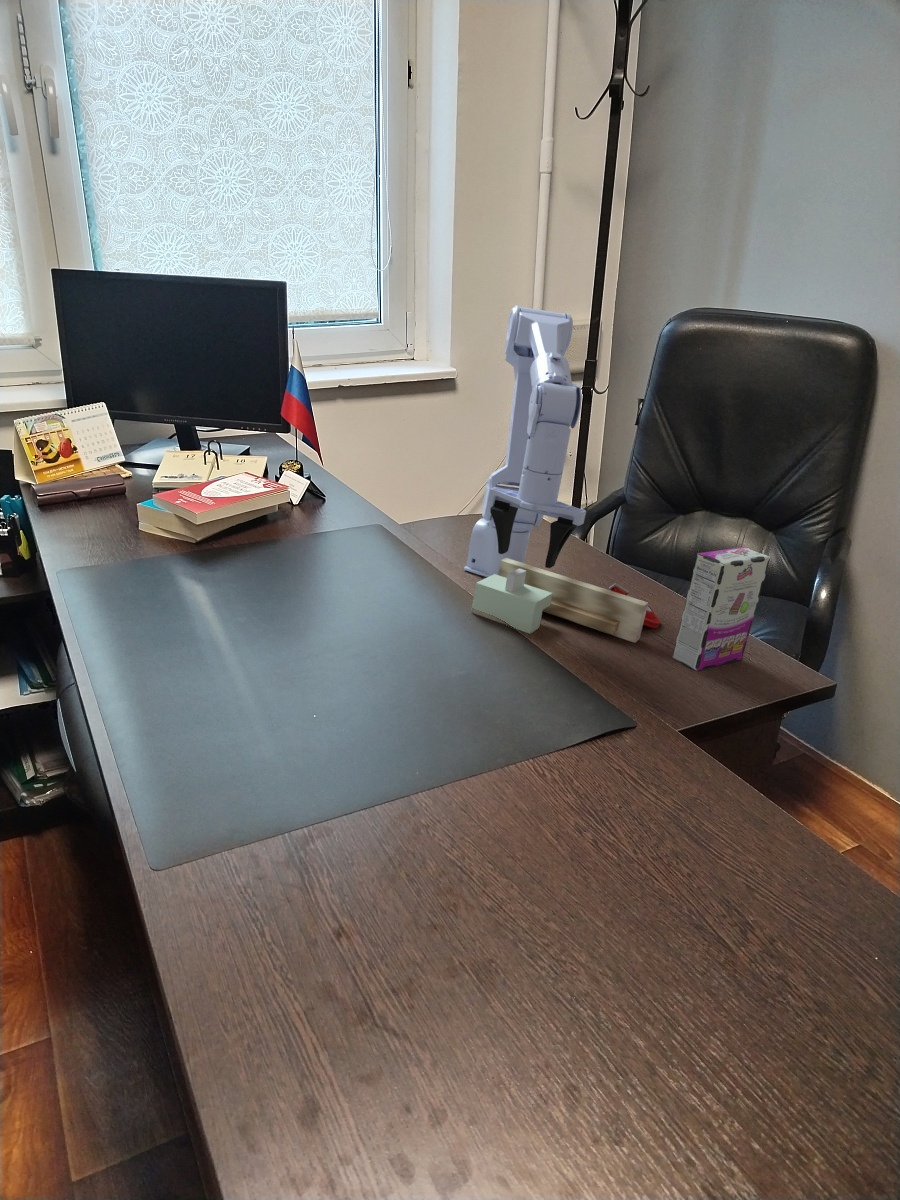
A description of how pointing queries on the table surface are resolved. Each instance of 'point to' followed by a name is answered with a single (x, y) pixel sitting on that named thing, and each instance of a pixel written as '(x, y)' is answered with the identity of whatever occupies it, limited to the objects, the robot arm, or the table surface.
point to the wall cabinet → (512, 600)
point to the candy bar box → (720, 607)
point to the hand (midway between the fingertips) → (526, 559)
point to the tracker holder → (650, 617)
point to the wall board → (585, 602)
